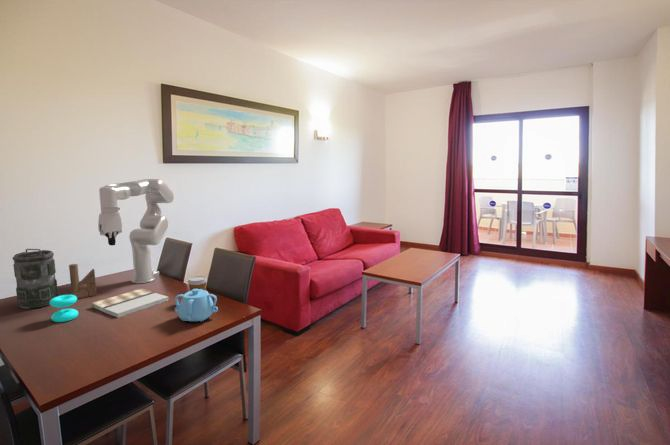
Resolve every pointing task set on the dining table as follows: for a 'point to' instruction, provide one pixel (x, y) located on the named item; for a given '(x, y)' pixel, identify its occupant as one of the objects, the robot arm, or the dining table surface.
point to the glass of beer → (197, 282)
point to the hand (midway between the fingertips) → (112, 244)
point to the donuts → (65, 313)
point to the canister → (35, 278)
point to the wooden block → (88, 280)
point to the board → (135, 304)
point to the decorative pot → (195, 305)
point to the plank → (119, 298)
